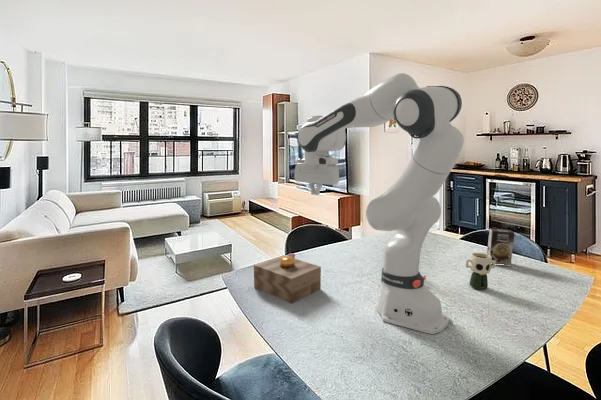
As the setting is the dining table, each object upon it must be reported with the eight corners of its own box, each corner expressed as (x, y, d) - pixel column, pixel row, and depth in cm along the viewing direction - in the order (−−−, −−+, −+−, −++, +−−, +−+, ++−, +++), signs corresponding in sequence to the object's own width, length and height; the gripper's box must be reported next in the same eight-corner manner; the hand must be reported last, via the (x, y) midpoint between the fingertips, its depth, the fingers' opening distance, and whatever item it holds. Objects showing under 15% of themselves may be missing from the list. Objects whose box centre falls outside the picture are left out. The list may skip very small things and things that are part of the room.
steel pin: (297, 286, 131) (297, 258, 129) (287, 291, 127) (287, 261, 125) (287, 282, 135) (287, 254, 133) (277, 287, 130) (276, 258, 129)
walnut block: (320, 289, 130) (320, 266, 128) (291, 303, 118) (291, 278, 117) (283, 275, 143) (283, 255, 142) (254, 287, 131) (253, 264, 130)
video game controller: (287, 273, 150) (294, 260, 149) (278, 268, 151) (285, 255, 149) (291, 265, 160) (298, 253, 158) (282, 260, 160) (289, 248, 159)
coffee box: (488, 264, 157) (492, 231, 155) (485, 260, 164) (488, 227, 161) (511, 267, 155) (515, 232, 152) (507, 262, 161) (510, 229, 158)
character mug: (467, 290, 129) (470, 258, 127) (460, 283, 136) (462, 252, 134) (497, 291, 128) (500, 258, 126) (488, 284, 135) (491, 252, 133)
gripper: (290, 158, 136) (290, 192, 139) (331, 160, 123) (330, 198, 125) (301, 158, 141) (301, 191, 143) (341, 159, 127) (341, 196, 130)
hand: (315, 194), depth 134 cm, fingers closed
